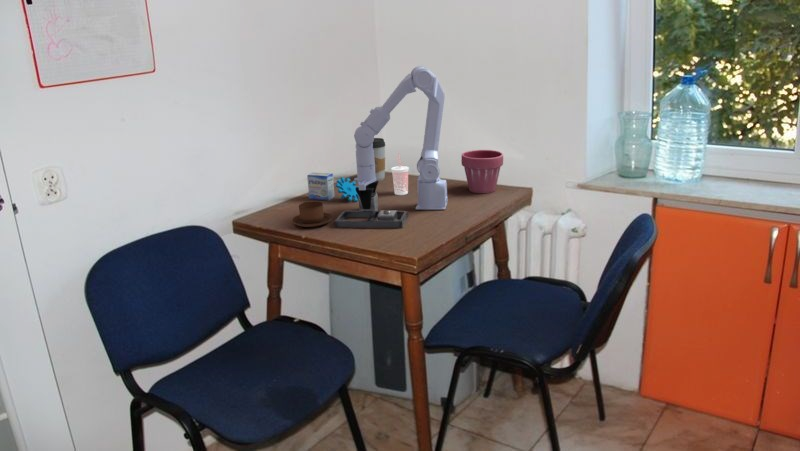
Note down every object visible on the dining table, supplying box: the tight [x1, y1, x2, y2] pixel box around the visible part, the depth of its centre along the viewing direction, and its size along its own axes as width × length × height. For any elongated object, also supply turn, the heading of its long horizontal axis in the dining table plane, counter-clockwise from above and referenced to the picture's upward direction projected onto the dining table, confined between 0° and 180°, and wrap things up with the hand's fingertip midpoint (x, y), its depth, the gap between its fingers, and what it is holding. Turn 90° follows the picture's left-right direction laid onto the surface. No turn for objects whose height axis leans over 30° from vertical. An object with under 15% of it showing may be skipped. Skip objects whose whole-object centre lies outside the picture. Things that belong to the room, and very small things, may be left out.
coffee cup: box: [373, 137, 386, 182], centre depth 254 cm, size 8×8×15 cm
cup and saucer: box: [292, 200, 332, 228], centre depth 207 cm, size 12×12×6 cm
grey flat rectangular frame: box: [334, 210, 409, 229], centre depth 206 cm, size 20×11×2 cm, turn 80°
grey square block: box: [358, 192, 379, 211], centre depth 216 cm, size 5×5×6 cm
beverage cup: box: [390, 153, 410, 196], centre depth 233 cm, size 6×6×14 cm
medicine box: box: [307, 172, 335, 201], centre depth 233 cm, size 8×4×9 cm, turn 68°
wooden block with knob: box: [377, 209, 398, 221], centre depth 204 cm, size 5×5×4 cm
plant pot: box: [461, 149, 504, 194], centre depth 232 cm, size 14×14×13 cm
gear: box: [335, 177, 359, 203], centre depth 231 cm, size 11×6×10 cm
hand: (368, 206), depth 217 cm, fingers open, 5 cm apart
